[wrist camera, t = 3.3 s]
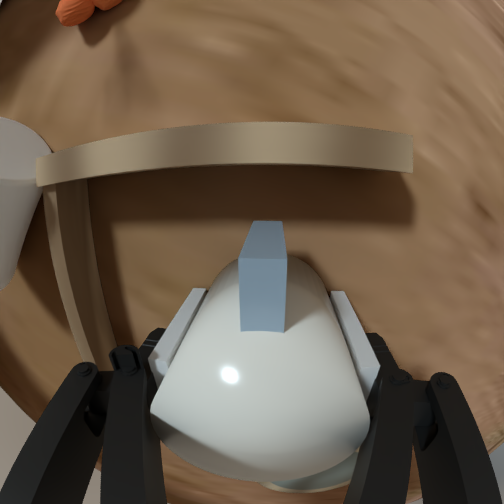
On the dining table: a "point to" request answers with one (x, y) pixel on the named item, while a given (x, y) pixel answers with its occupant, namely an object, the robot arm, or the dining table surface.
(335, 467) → the coaster
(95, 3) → the orange lump with branch
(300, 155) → the wooden u-shaped frame
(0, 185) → the mug
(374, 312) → the dining table surface
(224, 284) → the blue handled white cup
